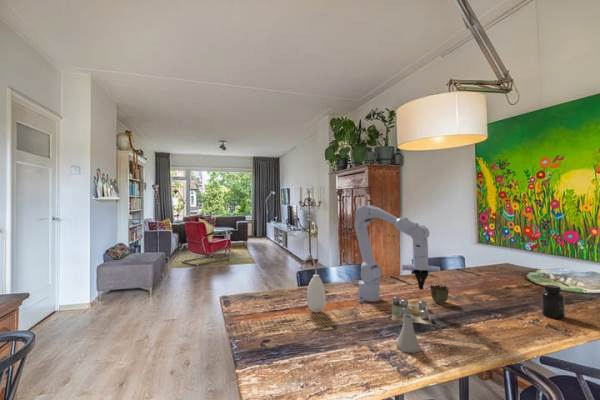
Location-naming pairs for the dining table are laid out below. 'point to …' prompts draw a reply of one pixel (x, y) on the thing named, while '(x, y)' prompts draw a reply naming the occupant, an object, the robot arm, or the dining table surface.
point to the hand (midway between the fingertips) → (420, 288)
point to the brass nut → (413, 310)
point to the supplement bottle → (553, 302)
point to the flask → (408, 336)
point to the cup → (439, 293)
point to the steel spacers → (406, 310)
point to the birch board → (417, 318)
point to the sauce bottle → (316, 294)
